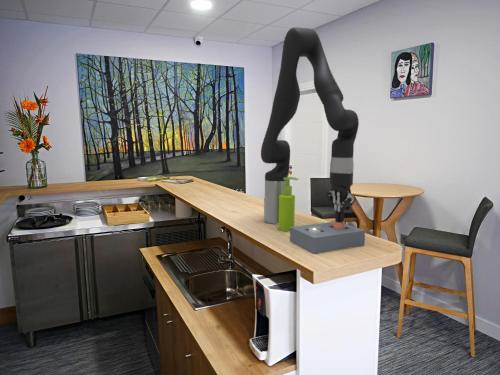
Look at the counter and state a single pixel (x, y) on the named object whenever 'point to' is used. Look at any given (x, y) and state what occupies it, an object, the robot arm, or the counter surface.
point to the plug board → (326, 237)
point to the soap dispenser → (286, 206)
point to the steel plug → (314, 229)
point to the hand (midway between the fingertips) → (339, 221)
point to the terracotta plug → (338, 225)
